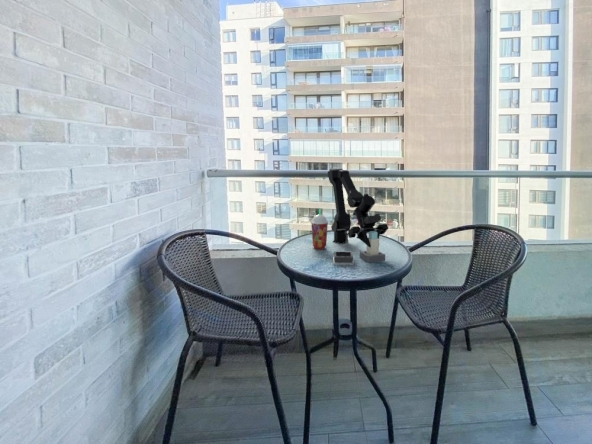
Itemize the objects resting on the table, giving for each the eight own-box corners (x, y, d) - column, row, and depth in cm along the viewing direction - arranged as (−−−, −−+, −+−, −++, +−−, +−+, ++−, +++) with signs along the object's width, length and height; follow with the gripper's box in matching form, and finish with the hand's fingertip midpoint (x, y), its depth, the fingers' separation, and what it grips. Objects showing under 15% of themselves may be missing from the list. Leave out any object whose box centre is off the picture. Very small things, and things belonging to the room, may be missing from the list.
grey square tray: (359, 257, 191) (359, 251, 190) (375, 255, 193) (375, 249, 193) (368, 263, 183) (369, 256, 182) (385, 260, 186) (385, 254, 185)
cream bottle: (366, 258, 189) (367, 231, 186) (373, 257, 191) (374, 230, 188) (370, 261, 186) (371, 233, 183) (378, 260, 187) (379, 232, 184)
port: (333, 258, 190) (333, 251, 189) (352, 258, 189) (352, 251, 188) (333, 264, 181) (333, 257, 180) (353, 265, 180) (354, 257, 180)
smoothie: (329, 246, 210) (329, 208, 205) (325, 250, 202) (325, 211, 198) (313, 245, 212) (313, 207, 208) (309, 249, 205) (309, 210, 200)
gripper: (351, 209, 184) (362, 239, 176) (387, 206, 190) (399, 235, 182) (343, 223, 193) (353, 251, 185) (377, 219, 199) (389, 247, 191)
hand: (374, 246), depth 185 cm, fingers closed on cream bottle, 4 cm apart
